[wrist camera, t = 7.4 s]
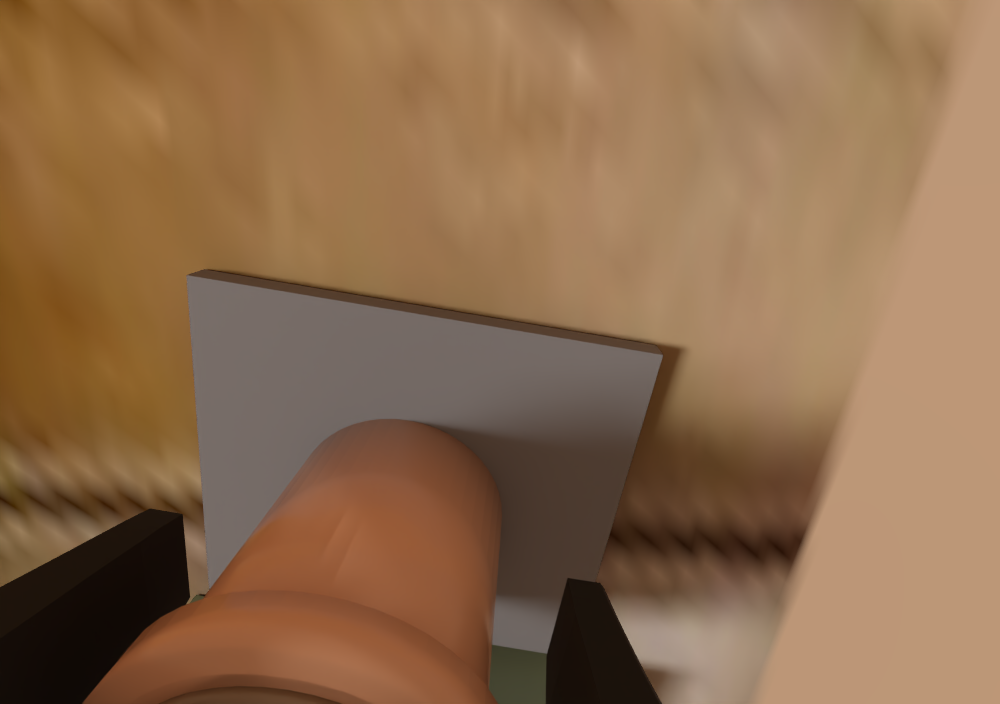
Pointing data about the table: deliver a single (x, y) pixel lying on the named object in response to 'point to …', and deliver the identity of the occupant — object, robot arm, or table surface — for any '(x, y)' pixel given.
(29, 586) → the robot arm
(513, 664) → the frame
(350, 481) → the terracotta pot
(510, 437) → the slate mat
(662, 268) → the table surface
